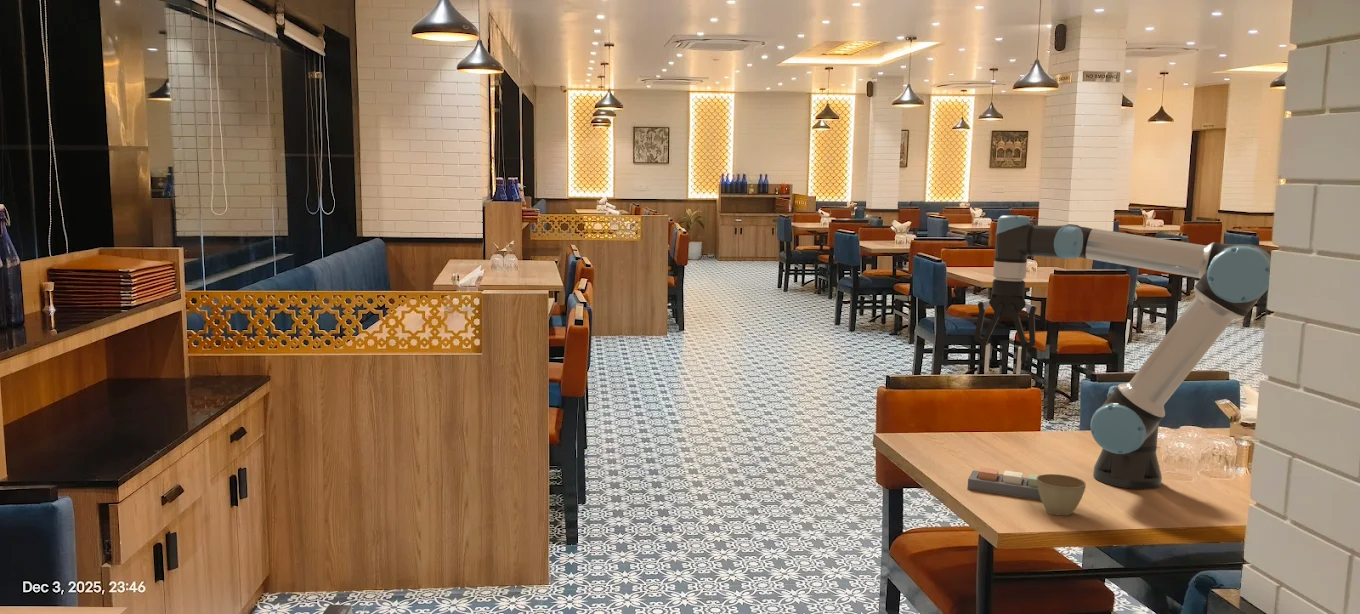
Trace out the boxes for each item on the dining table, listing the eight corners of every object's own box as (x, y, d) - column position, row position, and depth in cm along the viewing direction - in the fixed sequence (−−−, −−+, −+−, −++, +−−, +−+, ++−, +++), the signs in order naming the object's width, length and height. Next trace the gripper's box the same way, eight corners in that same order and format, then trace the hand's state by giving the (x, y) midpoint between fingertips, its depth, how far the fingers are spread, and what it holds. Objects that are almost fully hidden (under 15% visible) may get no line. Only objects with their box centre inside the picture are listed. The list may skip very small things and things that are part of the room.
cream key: (1022, 483, 228) (1023, 473, 227) (1020, 488, 224) (1021, 477, 224) (1004, 480, 229) (1005, 470, 229) (1002, 485, 226) (1003, 474, 225)
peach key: (997, 479, 230) (998, 469, 230) (995, 484, 226) (996, 473, 226) (980, 477, 232) (980, 467, 231) (977, 481, 228) (978, 471, 228)
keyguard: (1056, 492, 227) (1057, 482, 226) (1054, 502, 219) (1055, 491, 219) (972, 479, 234) (972, 470, 234) (967, 488, 227) (968, 478, 227)
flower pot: (1071, 504, 218) (1073, 473, 217) (1091, 520, 208) (1094, 488, 207) (1027, 504, 218) (1029, 473, 217) (1045, 519, 208) (1047, 487, 207)
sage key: (1047, 487, 225) (1048, 476, 225) (1045, 491, 222) (1046, 481, 222) (1028, 484, 227) (1029, 473, 227) (1027, 489, 223) (1028, 478, 223)
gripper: (1053, 280, 236) (1046, 373, 239) (969, 275, 244) (963, 365, 247) (1051, 283, 229) (1043, 379, 232) (965, 277, 237) (958, 370, 240)
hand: (1002, 372), depth 240 cm, fingers open, 7 cm apart
